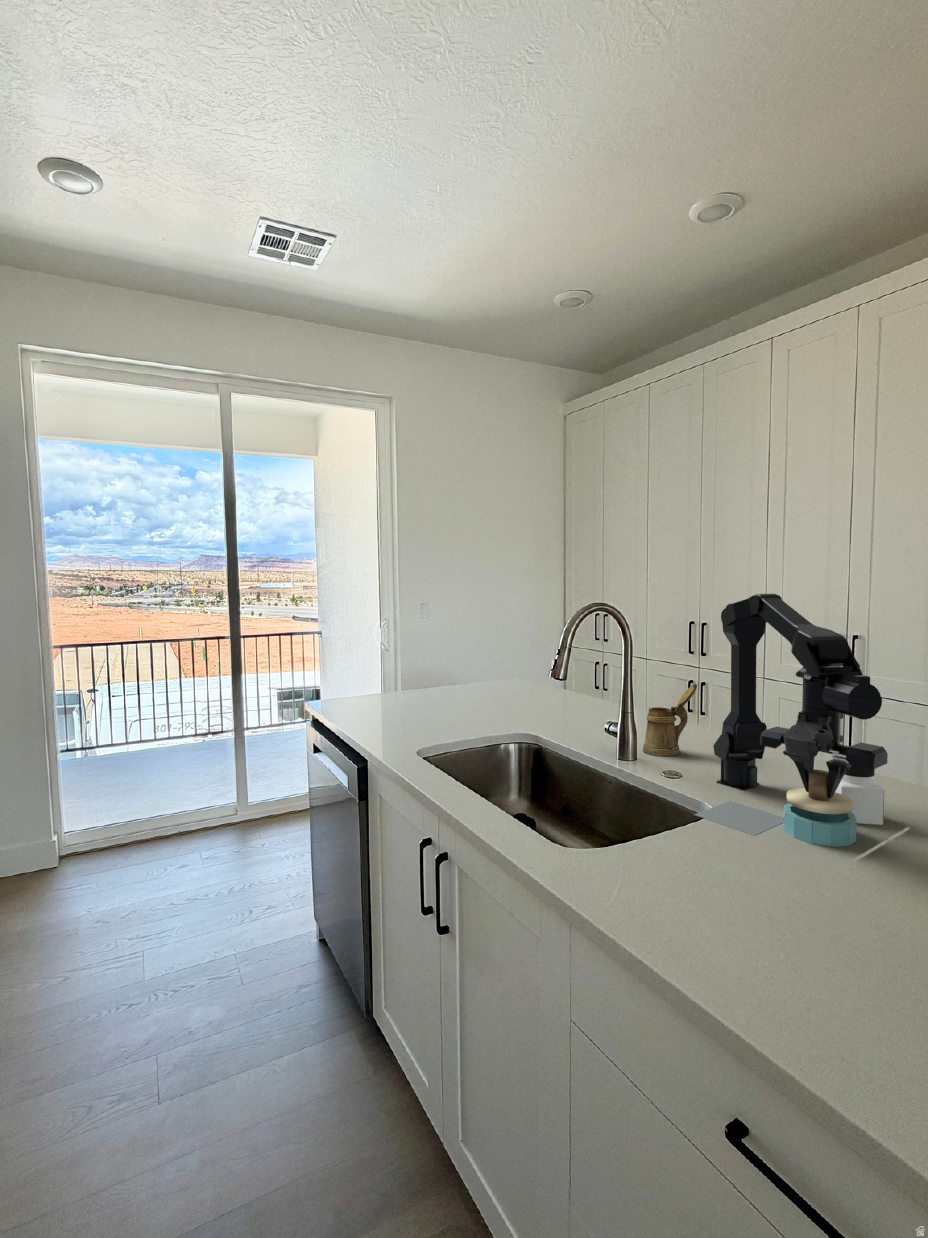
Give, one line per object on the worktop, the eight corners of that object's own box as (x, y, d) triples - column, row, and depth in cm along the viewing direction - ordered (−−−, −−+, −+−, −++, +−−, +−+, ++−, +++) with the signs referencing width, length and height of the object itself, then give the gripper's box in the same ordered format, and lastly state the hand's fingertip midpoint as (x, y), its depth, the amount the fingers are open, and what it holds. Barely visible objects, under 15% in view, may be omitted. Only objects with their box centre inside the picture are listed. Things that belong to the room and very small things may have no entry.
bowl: (771, 832, 109) (772, 810, 108) (802, 818, 115) (803, 797, 114) (836, 854, 100) (837, 830, 99) (866, 837, 106) (867, 814, 106)
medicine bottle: (884, 827, 110) (885, 761, 109) (840, 824, 112) (841, 759, 111) (866, 812, 117) (868, 750, 116) (825, 810, 119) (827, 749, 118)
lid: (775, 801, 108) (776, 771, 108) (803, 789, 114) (804, 760, 113) (836, 819, 100) (837, 786, 99) (863, 805, 106) (863, 774, 105)
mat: (693, 816, 116) (693, 814, 116) (730, 802, 123) (730, 800, 123) (754, 837, 106) (754, 835, 106) (790, 821, 113) (790, 819, 113)
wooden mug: (700, 757, 154) (700, 687, 153) (644, 755, 156) (644, 686, 155) (693, 748, 163) (694, 681, 162) (641, 746, 165) (641, 680, 164)
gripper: (744, 704, 109) (742, 789, 110) (859, 723, 94) (856, 822, 95) (777, 696, 115) (775, 777, 116) (890, 713, 100) (887, 806, 101)
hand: (819, 794), depth 107 cm, fingers closed on lid, 3 cm apart
